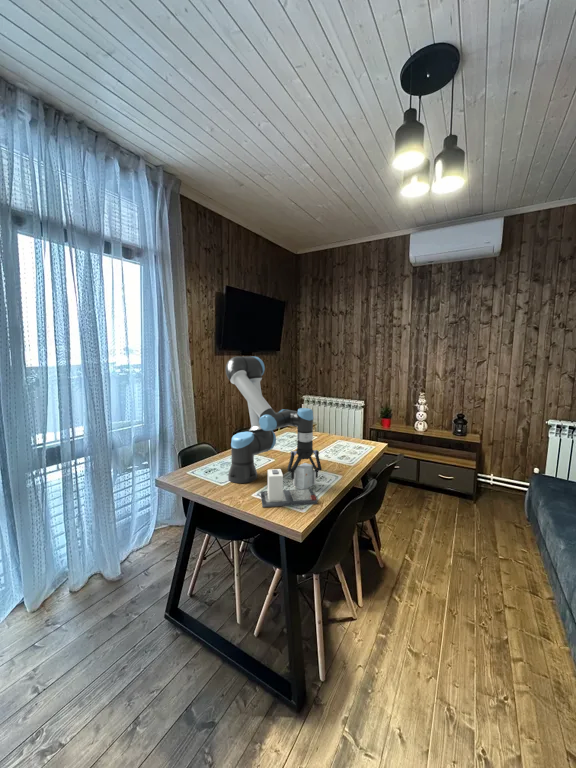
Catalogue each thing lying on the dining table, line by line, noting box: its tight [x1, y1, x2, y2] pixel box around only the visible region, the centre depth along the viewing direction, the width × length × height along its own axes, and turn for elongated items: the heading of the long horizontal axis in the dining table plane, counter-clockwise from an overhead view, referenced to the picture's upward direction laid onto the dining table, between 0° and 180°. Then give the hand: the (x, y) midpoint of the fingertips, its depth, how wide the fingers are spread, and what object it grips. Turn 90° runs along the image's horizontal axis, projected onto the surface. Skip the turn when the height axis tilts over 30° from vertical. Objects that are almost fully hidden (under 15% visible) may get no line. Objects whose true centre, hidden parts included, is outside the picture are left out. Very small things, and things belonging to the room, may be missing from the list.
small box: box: [294, 462, 314, 489], centre depth 152 cm, size 8×6×10 cm
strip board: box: [260, 488, 318, 508], centre depth 139 cm, size 24×12×2 cm, turn 99°
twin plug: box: [267, 468, 284, 501], centre depth 137 cm, size 6×8×12 cm
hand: (304, 484), depth 152 cm, fingers closed on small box, 9 cm apart
